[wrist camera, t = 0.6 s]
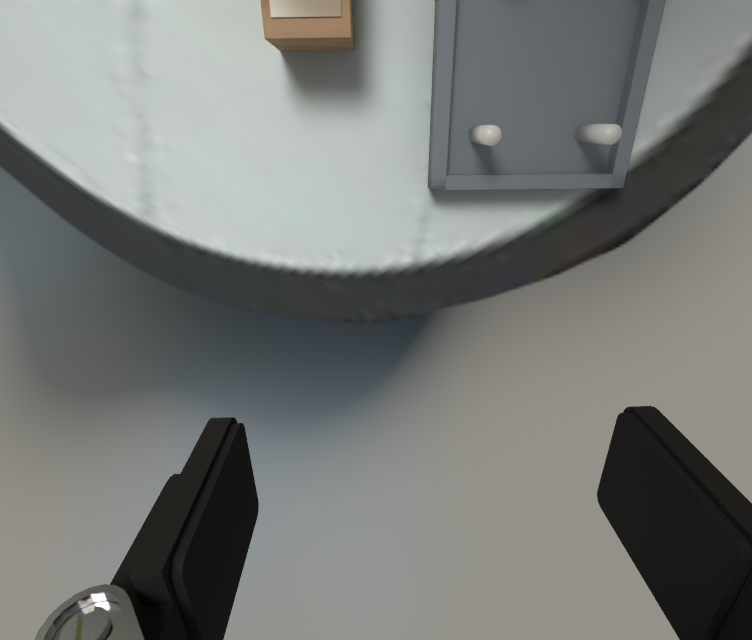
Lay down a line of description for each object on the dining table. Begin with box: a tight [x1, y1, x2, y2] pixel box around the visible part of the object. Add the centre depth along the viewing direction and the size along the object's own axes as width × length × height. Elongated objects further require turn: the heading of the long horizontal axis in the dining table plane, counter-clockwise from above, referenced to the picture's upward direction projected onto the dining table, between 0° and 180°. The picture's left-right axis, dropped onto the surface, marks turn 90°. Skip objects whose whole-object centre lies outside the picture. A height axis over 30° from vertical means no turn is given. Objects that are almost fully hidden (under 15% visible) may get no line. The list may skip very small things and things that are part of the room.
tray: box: [428, 0, 665, 190], centre depth 27 cm, size 18×14×5 cm
